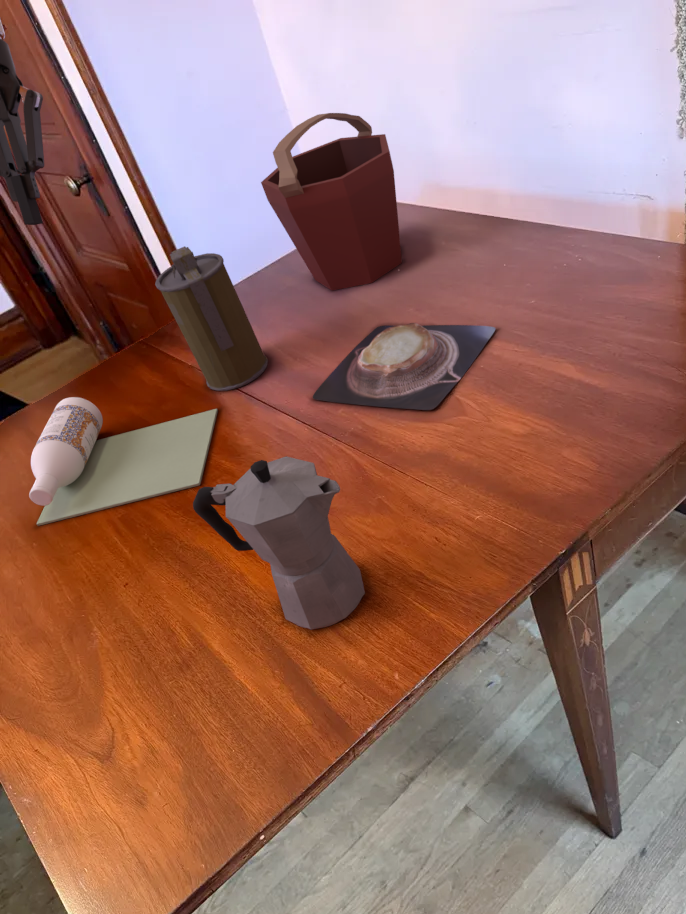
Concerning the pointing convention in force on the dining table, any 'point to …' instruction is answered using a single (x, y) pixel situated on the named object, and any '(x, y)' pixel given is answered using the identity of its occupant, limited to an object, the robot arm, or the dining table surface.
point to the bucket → (338, 204)
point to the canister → (212, 319)
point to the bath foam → (64, 447)
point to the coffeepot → (289, 537)
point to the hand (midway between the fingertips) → (34, 223)
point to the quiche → (405, 366)
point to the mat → (137, 467)
